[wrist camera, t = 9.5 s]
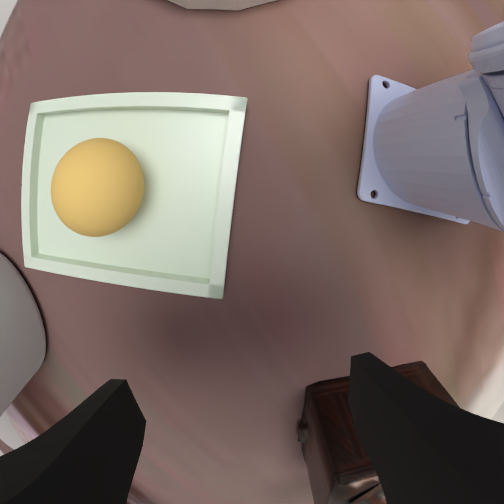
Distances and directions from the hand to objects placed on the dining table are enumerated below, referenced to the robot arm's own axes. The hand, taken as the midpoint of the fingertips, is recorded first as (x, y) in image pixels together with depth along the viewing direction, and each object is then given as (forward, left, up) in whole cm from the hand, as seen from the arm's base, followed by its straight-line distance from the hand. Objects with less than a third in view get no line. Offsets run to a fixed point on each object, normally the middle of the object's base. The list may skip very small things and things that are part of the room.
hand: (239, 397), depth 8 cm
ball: (+8, -5, -7) cm, 12 cm away
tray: (+8, -5, -10) cm, 14 cm away
